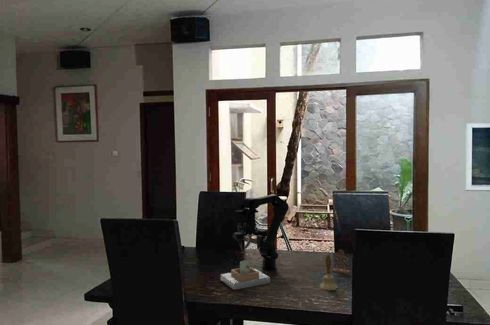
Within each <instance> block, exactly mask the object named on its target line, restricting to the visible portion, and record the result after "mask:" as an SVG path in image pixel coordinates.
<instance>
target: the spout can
mask: <svg viewBox="0 0 490 325" xmlns="http://www.w3.org/2000/svg"><path fill="white" fill-rule="evenodd" d="M250 267H251V263H250V261H248V260H242V261H240V262H239V268H240V275H243V274H248V273H250Z"/></svg>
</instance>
